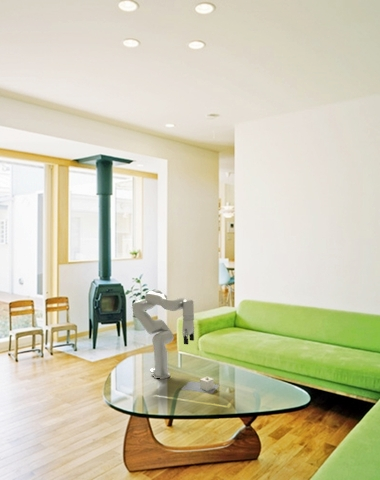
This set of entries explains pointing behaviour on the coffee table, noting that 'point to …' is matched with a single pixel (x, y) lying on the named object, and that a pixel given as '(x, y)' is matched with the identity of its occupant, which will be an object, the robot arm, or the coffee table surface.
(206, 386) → the white knobbed cube
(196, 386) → the board
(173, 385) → the coffee table surface
